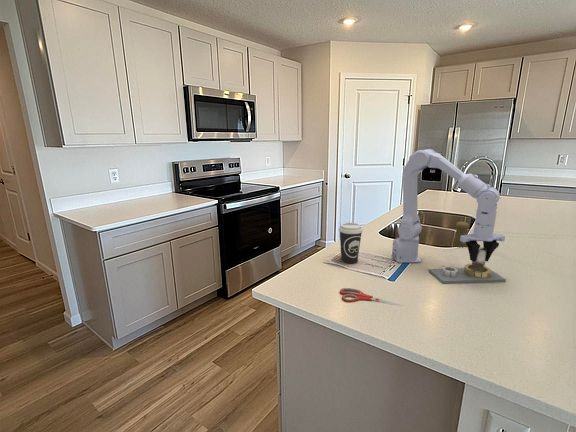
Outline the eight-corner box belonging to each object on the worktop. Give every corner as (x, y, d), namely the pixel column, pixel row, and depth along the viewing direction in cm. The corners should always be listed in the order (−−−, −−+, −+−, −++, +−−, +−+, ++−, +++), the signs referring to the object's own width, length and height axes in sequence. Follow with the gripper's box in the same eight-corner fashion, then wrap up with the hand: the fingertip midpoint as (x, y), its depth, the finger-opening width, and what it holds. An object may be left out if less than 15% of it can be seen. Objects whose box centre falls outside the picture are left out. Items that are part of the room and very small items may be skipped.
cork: (469, 248, 138) (472, 224, 135) (454, 247, 139) (457, 223, 136) (464, 243, 144) (468, 220, 141) (450, 242, 145) (453, 220, 142)
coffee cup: (363, 258, 128) (365, 223, 125) (358, 266, 120) (360, 230, 116) (341, 254, 132) (342, 221, 128) (334, 263, 124) (335, 227, 120)
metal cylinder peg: (476, 267, 108) (478, 250, 107) (469, 262, 112) (471, 247, 110) (487, 266, 108) (489, 250, 107) (479, 262, 112) (481, 246, 111)
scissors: (410, 310, 91) (410, 305, 91) (338, 302, 96) (338, 298, 95) (406, 297, 98) (407, 292, 98) (340, 290, 103) (340, 286, 102)
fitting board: (442, 283, 106) (442, 281, 105) (428, 271, 115) (428, 268, 115) (505, 281, 106) (505, 279, 106) (486, 269, 116) (486, 267, 116)
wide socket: (472, 278, 107) (473, 273, 106) (459, 269, 114) (460, 264, 114) (495, 278, 107) (496, 272, 106) (480, 268, 115) (481, 263, 114)
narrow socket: (446, 277, 108) (446, 272, 107) (438, 271, 113) (439, 266, 112) (460, 277, 108) (461, 271, 108) (452, 271, 113) (453, 266, 112)
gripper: (470, 227, 102) (465, 265, 105) (513, 226, 102) (507, 264, 106) (458, 221, 109) (454, 257, 112) (499, 220, 109) (493, 256, 113)
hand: (478, 260), depth 109 cm, fingers closed on metal cylinder peg, 4 cm apart
